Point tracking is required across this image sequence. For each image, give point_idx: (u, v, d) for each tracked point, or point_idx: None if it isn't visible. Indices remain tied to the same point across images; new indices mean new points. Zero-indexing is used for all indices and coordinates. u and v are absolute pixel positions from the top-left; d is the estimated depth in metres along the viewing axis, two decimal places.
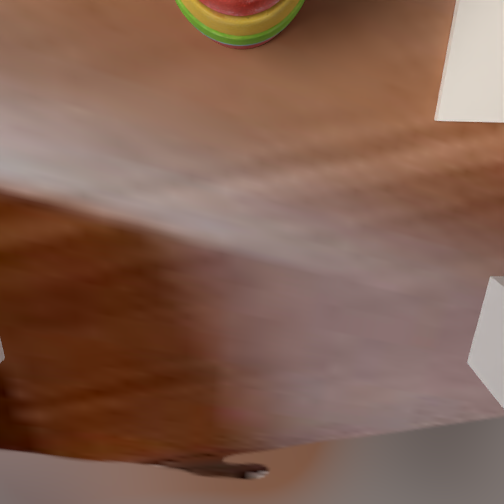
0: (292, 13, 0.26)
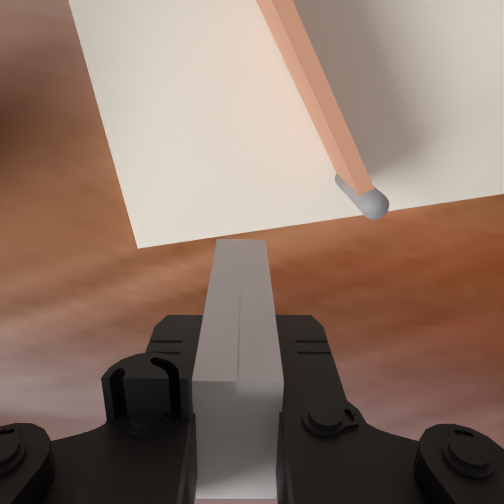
0: None
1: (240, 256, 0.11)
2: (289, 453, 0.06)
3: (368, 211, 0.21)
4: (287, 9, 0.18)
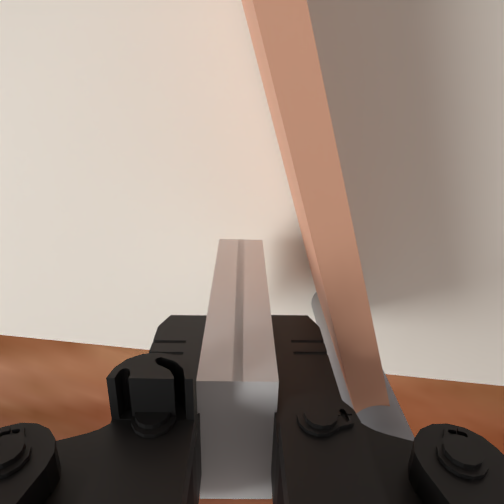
0: None
1: (237, 256, 0.11)
2: (284, 453, 0.05)
3: None
4: None
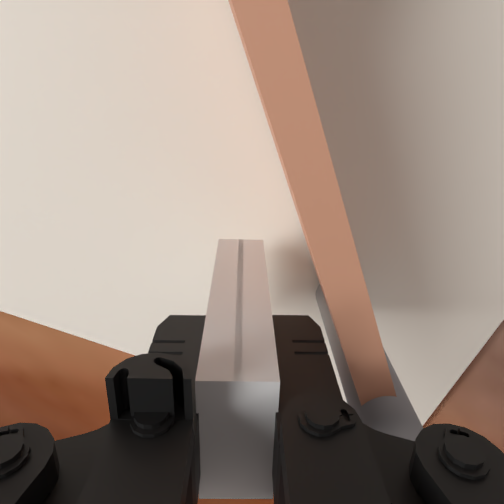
0: None
1: (238, 256, 0.11)
2: (285, 453, 0.05)
3: None
4: None
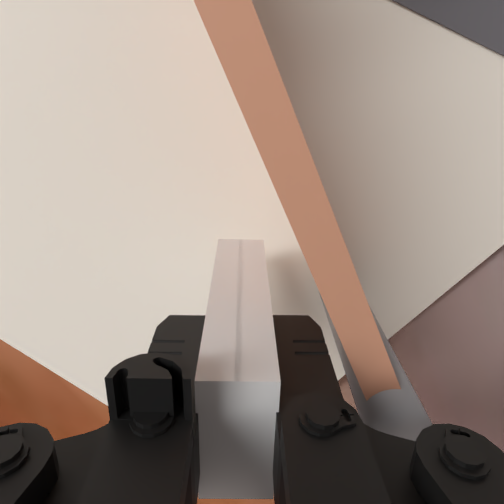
0: None
1: (238, 256, 0.11)
2: (286, 453, 0.06)
3: None
4: None
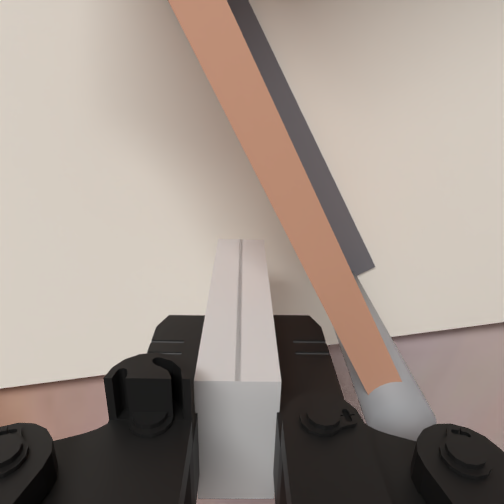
0: None
1: (238, 256, 0.11)
2: (287, 453, 0.06)
3: None
4: None
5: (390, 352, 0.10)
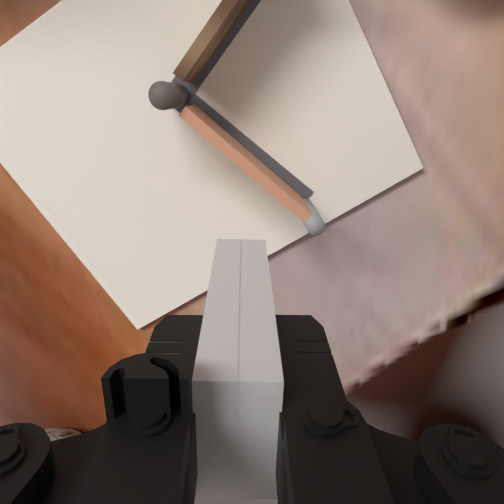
0: None
1: (240, 256, 0.11)
2: (289, 453, 0.06)
3: (312, 231, 0.31)
4: (211, 135, 0.29)
5: (311, 211, 0.32)
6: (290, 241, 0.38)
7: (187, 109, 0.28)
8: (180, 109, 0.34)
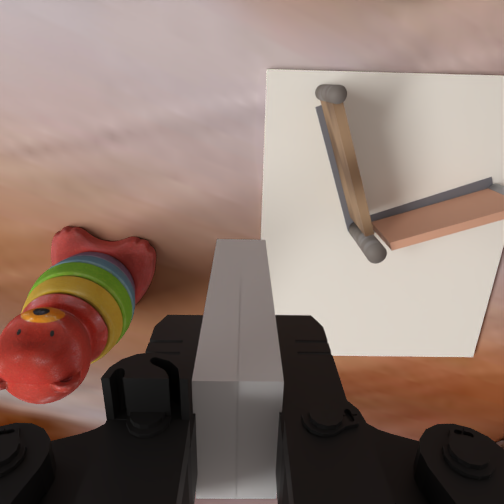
0: (115, 343, 0.39)
1: (240, 256, 0.11)
2: (289, 453, 0.06)
3: None
4: (418, 238, 0.37)
5: None
6: None
7: (392, 242, 0.37)
8: None
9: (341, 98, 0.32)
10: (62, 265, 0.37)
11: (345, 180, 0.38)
